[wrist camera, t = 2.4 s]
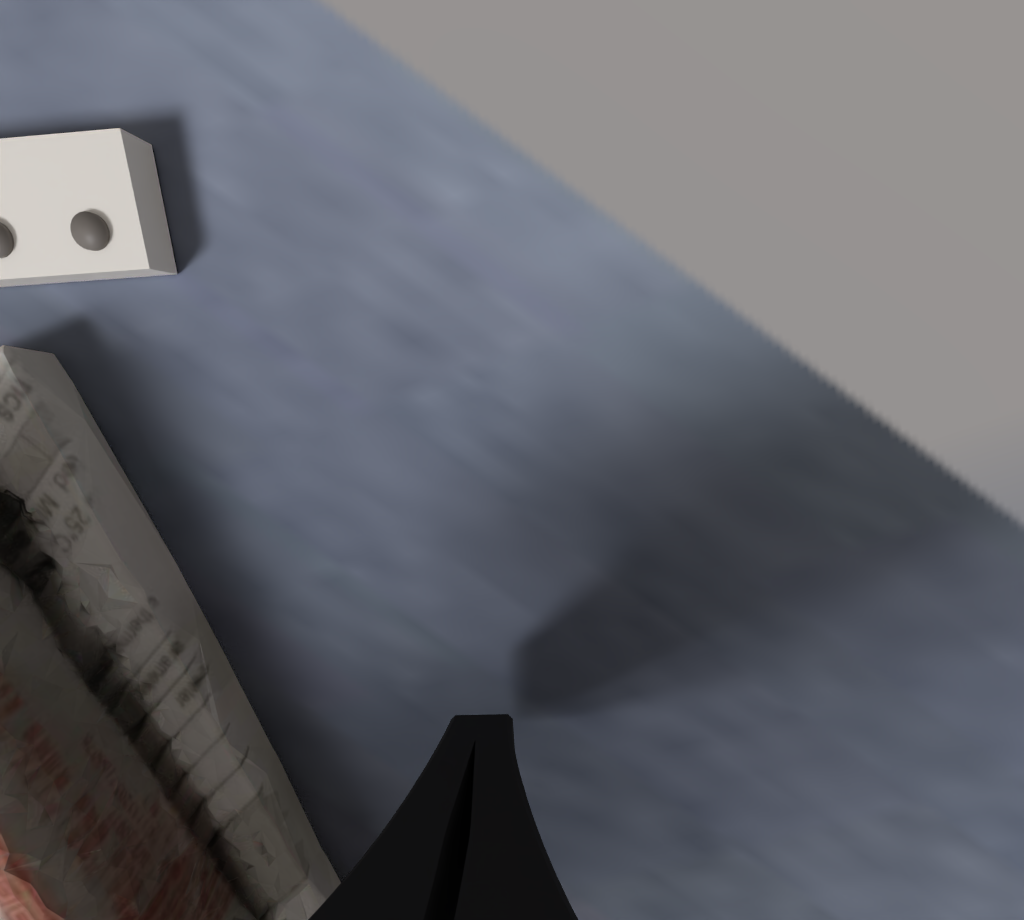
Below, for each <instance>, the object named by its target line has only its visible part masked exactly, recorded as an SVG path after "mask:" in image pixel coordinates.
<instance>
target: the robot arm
mask: <svg viewBox="0 0 1024 920" xmlns="http://www.w3.org/2000/svg"><path fill="white" fill-rule="evenodd" d="M308 920H578V918H577V917H576V915H575V913H574V911H573V909H572V907H571V905H570V903H569V901H568V899H567V897H566V895H565V893H564V890H563V888H562V886H561V884H560V882H559V880H558V878H557V875H556V873H555V871H554V868H553V866H552V864H551V861H550V859H549V857H548V854H547V852H546V850H545V847H544V845H543V842H542V839H541V837H540V834H539V832H538V829H537V826H536V823H535V821H534V818H533V815H532V812H531V809H530V806H529V803H528V800H527V797H526V793H525V790H524V786H523V783H522V779H521V776H520V772H519V768H518V764H517V759H516V754H515V747H514V732H513V719H512V718H511V717H510V716H509V715H508V714H497V715H455V716H454V717H453V718H452V719H451V721H450V723H449V725H448V727H447V729H446V731H445V733H444V735H443V737H442V739H441V741H440V742H439V744H438V746H437V748H436V750H435V751H434V753H433V755H432V757H431V758H430V760H429V762H428V764H427V765H426V767H425V768H424V770H423V772H422V773H421V775H420V776H419V778H418V780H417V781H416V783H415V784H414V786H413V788H412V789H411V791H410V792H409V794H408V795H407V797H406V798H405V800H404V801H403V803H402V804H401V806H400V807H399V809H398V810H397V811H396V813H395V814H394V816H393V817H392V819H391V820H390V821H389V823H388V824H387V826H386V827H385V829H384V830H383V831H382V833H381V834H380V835H379V837H378V838H377V839H376V841H375V842H374V843H373V845H372V846H371V847H370V848H369V850H368V851H367V852H366V854H365V855H364V856H363V857H362V859H361V860H360V861H359V862H358V863H357V865H356V866H355V867H354V868H353V870H352V871H351V872H350V873H349V874H348V876H347V877H346V878H345V879H344V880H343V881H342V882H341V884H340V885H339V886H338V887H337V888H336V889H335V890H334V892H333V893H332V894H331V895H330V896H329V897H328V898H327V899H326V901H325V902H324V903H323V904H322V905H321V906H320V907H319V908H318V909H317V911H316V912H315V913H314V914H313V915H312V916H311V917H310V918H309V919H308Z"/></svg>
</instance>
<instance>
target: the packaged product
mask: <svg viewBox="0 0 1024 920" xmlns="http://www.w3.org/2000/svg"><path fill="white" fill-rule="evenodd" d="M340 884H341V882H340V880H339V878H338V876H337V874H336V872H335V871H334V869H333V867H332V865H331V863H330V862H329V860H328V858H327V856H326V855H325V853H324V851H323V850H322V848H321V846H320V844H319V842H318V840H317V838H316V836H315V834H314V831H313V829H312V827H311V825H310V823H309V821H308V819H307V817H306V815H305V812H304V810H303V808H302V806H301V804H300V802H299V800H298V798H297V796H296V793H295V791H294V789H293V787H292V785H291V783H290V781H289V779H288V777H287V775H286V772H285V770H284V768H283V766H282V764H281V762H280V760H279V758H278V756H277V754H276V752H275V751H274V749H273V747H272V746H271V744H270V742H269V740H268V738H267V736H266V734H265V732H264V730H263V728H262V726H261V724H260V722H259V720H258V718H257V716H256V715H255V713H254V711H253V709H252V707H251V705H250V703H249V701H248V699H247V697H246V695H245V693H244V691H243V689H242V687H241V685H240V684H239V682H238V680H237V678H236V676H235V674H234V672H233V670H232V668H231V665H230V663H229V661H228V659H227V657H226V655H225V654H224V652H223V650H222V648H221V646H220V644H219V642H218V640H217V639H216V637H215V635H214V633H213V631H212V629H211V627H210V625H209V624H208V622H207V620H206V618H205V616H204V614H203V612H202V610H201V609H200V607H199V605H198V603H197V601H196V599H195V597H194V595H193V594H192V592H191V590H190V588H189V587H188V585H187V583H186V581H185V579H184V577H183V575H182V573H181V571H180V570H179V568H178V566H177V564H176V562H175V560H174V559H173V557H172V555H171V553H170V552H169V550H168V548H167V546H166V545H165V543H164V541H163V539H162V538H161V536H160V534H159V532H158V531H157V529H156V527H155V525H154V524H153V522H152V520H151V518H150V517H149V515H148V513H147V511H146V510H145V508H144V506H143V504H142V503H141V501H140V499H139V497H138V496H137V494H136V492H135V490H134V489H133V487H132V485H131V483H130V482H129V480H128V478H127V476H126V475H125V473H124V471H123V469H122V468H121V466H120V464H119V462H118V461H117V459H116V457H115V455H114V454H113V452H112V450H111V448H110V447H109V445H108V443H107V441H106V440H105V438H104V436H103V434H102V433H101V431H100V429H99V427H98V426H97V424H96V422H95V420H94V419H93V417H92V415H91V413H90V412H89V410H88V408H87V406H86V405H85V403H84V401H83V399H82V398H81V396H80V394H79V392H78V391H77V389H76V387H75V385H74V384H73V382H72V380H71V379H70V377H69V376H68V374H67V373H66V371H65V370H64V368H63V367H62V365H61V364H60V362H59V361H58V359H57V358H56V356H55V355H54V354H53V353H47V352H41V351H35V350H29V349H23V348H17V347H11V346H5V345H3V346H1V347H0V920H308V919H309V918H310V917H311V916H312V915H313V914H314V913H315V912H316V911H317V909H318V908H319V907H320V906H321V905H322V904H323V903H324V902H325V901H326V899H327V898H328V897H329V896H330V895H331V894H332V893H333V892H334V890H335V889H336V888H337V887H338V886H339V885H340Z"/></svg>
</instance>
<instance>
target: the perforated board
mask: <svg viewBox="0 0 1024 920" xmlns="http://www.w3.org/2000/svg"><path fill="white" fill-rule="evenodd" d="M175 274H177V269H176V264H175V259H174V254H173V249H172V244H171V239H170V234H169V229H168V224H167V219H166V214H165V209H164V204H163V199H162V194H161V189H160V184H159V179H158V174H157V169H156V164H155V159H154V154H153V149H152V145H151V144H149V143H147V142H146V141H144V140H142V139H140V138H138V137H136V136H134V135H132V134H130V133H128V132H127V131H125V130H123V129H121V128H114V129H103V130H92V131H81V132H69V133H58V134H47V135H35V136H24V137H13V138H1V139H0V287H8V286H22V285H36V284H49V283H63V282H77V281H91V280H105V279H119V278H133V277H147V276H161V275H175Z"/></svg>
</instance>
